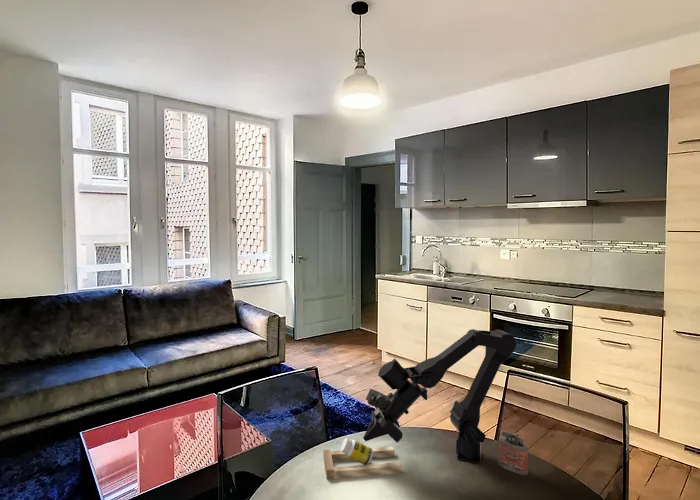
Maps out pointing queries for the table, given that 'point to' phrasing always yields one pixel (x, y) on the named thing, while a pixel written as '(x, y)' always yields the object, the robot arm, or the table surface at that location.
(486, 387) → the robot arm
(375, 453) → the cradle
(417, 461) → the table surface
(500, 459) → the lighter
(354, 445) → the supplement bottle
